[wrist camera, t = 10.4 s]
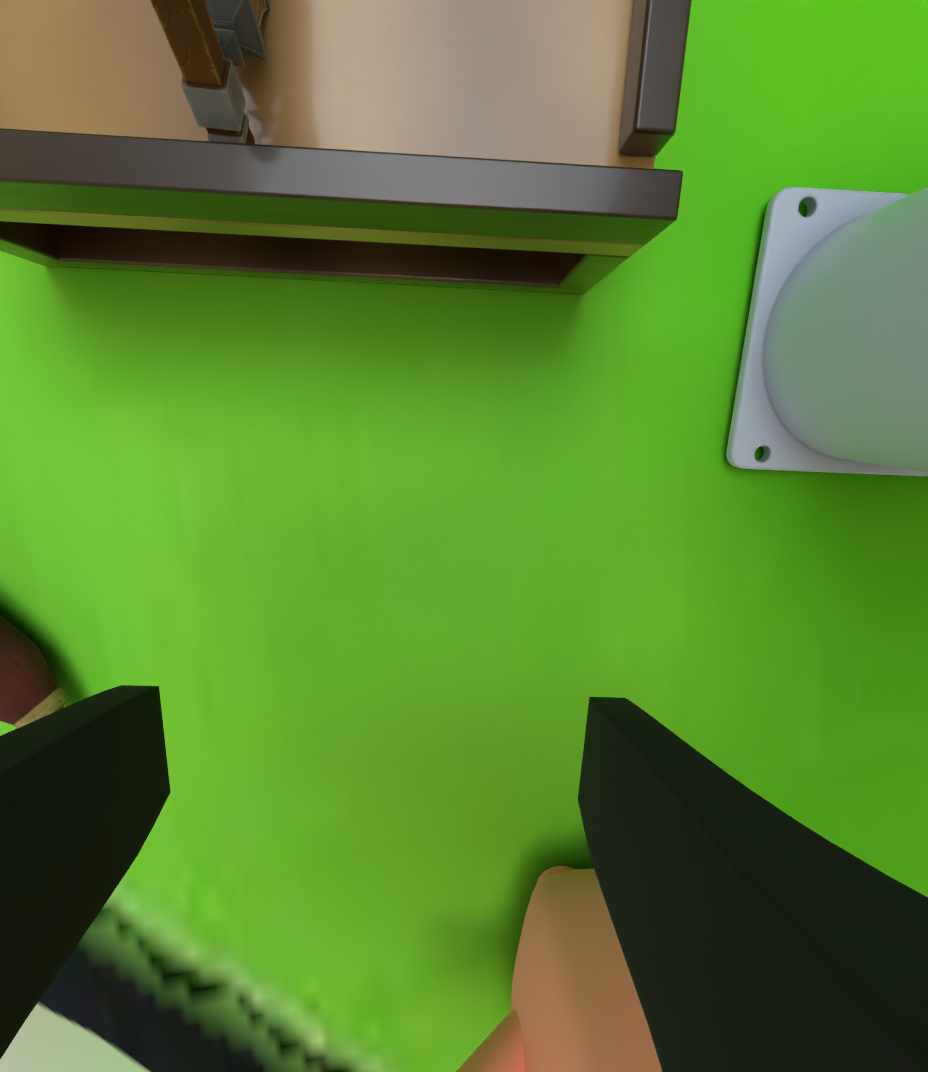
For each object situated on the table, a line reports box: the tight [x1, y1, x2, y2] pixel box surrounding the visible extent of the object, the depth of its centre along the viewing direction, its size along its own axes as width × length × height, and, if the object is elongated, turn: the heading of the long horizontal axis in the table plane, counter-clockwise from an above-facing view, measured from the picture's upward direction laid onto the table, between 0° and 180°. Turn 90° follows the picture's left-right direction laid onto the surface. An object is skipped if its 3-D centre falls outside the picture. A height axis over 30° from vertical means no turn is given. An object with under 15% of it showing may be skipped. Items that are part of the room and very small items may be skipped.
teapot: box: [456, 866, 662, 1072], centre depth 17 cm, size 12×12×10 cm
